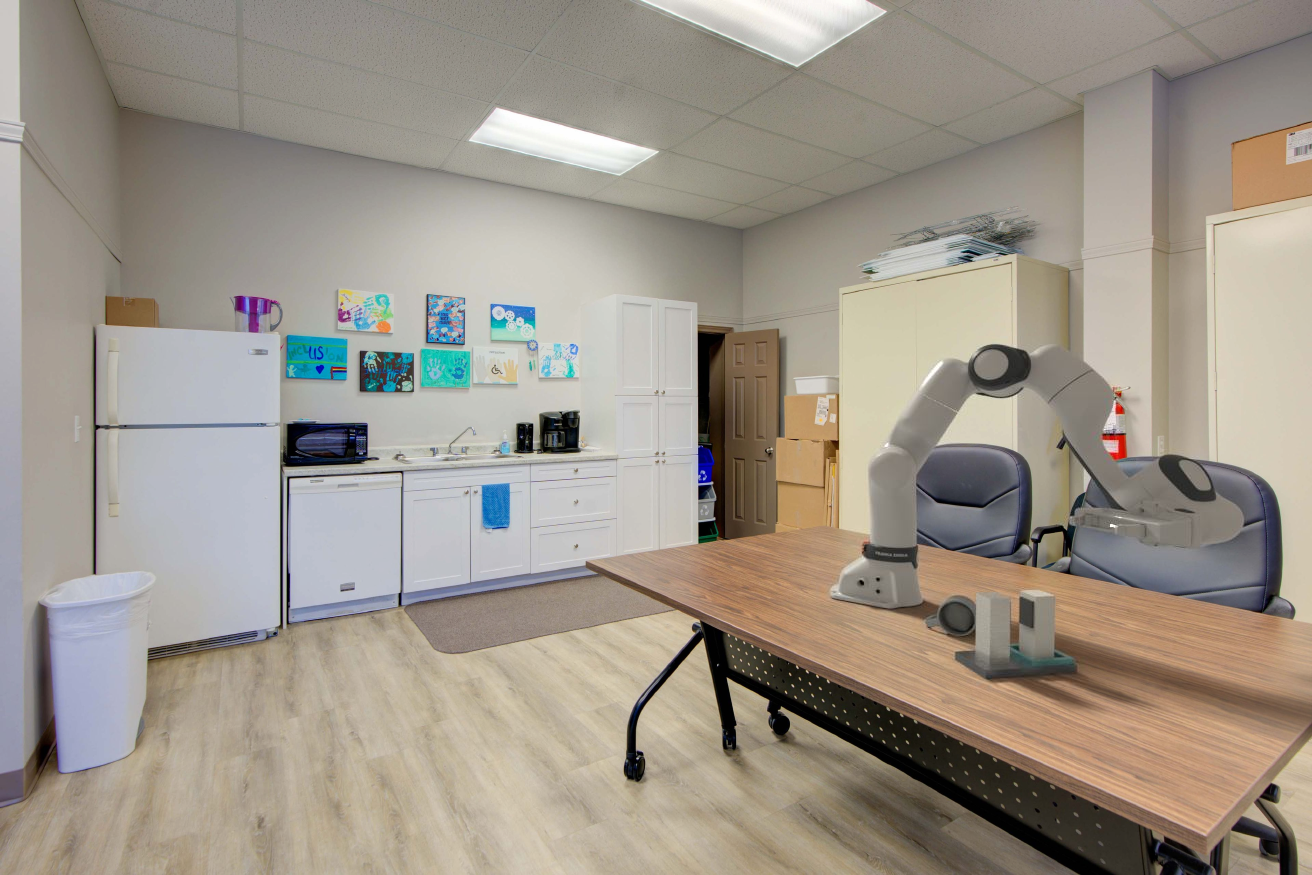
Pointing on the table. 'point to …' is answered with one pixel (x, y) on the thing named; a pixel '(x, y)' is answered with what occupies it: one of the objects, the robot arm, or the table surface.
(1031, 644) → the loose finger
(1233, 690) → the table surface
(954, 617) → the ceramic mug
